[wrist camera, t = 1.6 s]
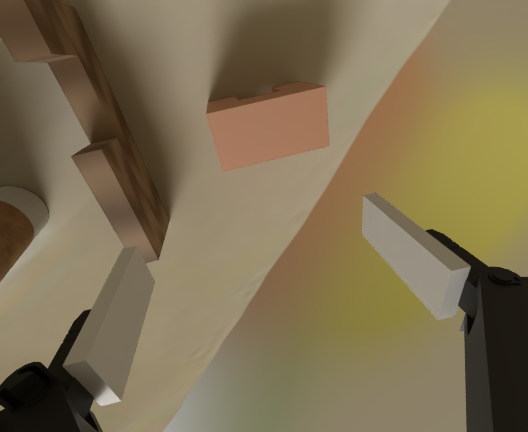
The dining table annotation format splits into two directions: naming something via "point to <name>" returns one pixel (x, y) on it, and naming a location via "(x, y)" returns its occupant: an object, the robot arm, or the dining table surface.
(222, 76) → the dining table surface
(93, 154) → the slotted board
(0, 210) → the coffee cup
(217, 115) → the notched block
